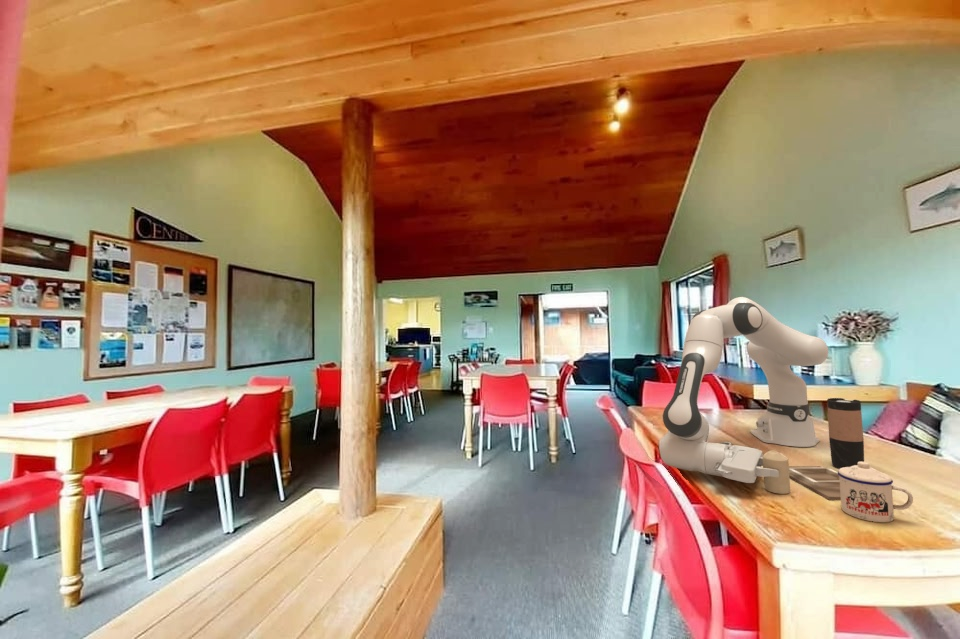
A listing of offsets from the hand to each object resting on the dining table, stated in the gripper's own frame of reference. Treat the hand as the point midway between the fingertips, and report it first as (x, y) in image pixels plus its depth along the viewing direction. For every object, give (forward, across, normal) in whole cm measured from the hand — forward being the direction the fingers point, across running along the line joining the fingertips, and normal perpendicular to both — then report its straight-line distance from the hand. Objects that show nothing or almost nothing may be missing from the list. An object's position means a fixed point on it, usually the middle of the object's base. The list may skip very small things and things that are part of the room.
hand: (780, 469), depth 105 cm
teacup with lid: (+17, -5, +6) cm, 19 cm away
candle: (-1, 0, +6) cm, 6 cm away
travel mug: (+14, +31, +6) cm, 34 cm away
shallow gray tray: (+8, +13, +6) cm, 17 cm away
